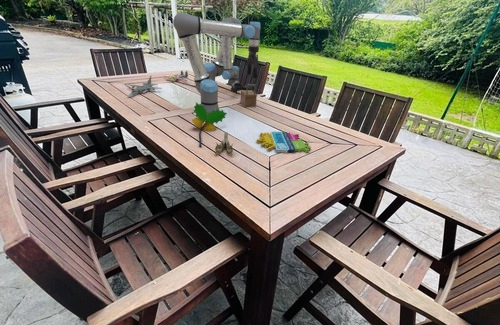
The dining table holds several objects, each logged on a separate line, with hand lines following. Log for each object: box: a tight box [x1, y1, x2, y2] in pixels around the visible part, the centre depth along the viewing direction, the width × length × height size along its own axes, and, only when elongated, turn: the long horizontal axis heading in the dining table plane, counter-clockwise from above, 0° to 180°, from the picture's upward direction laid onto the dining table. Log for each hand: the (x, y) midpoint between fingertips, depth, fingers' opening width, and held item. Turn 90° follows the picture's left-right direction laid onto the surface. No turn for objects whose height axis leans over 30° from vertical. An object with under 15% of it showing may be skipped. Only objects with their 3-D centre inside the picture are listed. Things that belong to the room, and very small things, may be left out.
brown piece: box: [240, 83, 258, 97], centre depth 208 cm, size 14×9×9 cm
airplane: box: [127, 75, 162, 98], centre depth 225 cm, size 38×32×10 cm
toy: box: [163, 70, 189, 83], centre depth 276 cm, size 28×7×30 cm
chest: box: [239, 92, 258, 108], centre depth 212 cm, size 13×9×9 cm
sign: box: [256, 131, 312, 154], centre depth 152 cm, size 26×2×30 cm
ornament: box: [191, 102, 228, 132], centre depth 162 cm, size 21×8×15 cm, turn 105°
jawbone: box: [214, 131, 234, 156], centre depth 136 cm, size 9×15×10 cm
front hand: (251, 76), depth 199 cm, fingers open, 13 cm apart
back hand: (244, 92), depth 224 cm, fingers open, 13 cm apart
